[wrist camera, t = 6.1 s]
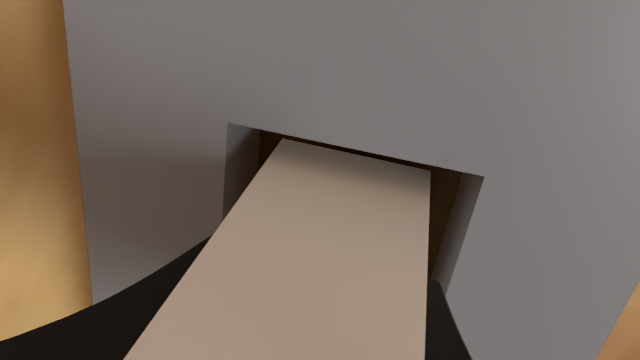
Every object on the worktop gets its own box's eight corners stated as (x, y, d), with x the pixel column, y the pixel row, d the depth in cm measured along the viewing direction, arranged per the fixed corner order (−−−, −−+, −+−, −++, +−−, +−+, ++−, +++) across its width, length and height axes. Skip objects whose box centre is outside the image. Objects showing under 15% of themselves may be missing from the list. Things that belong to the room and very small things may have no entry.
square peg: (397, 289, 15) (362, 605, 8) (268, 257, 16) (130, 530, 9) (430, 171, 13) (422, 450, 6) (282, 138, 14) (119, 365, 7)
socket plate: (501, 426, 19) (512, 509, 16) (145, 332, 20) (101, 393, 18) (725, -47, 11) (814, -36, 8) (127, -138, 13) (47, -152, 10)
